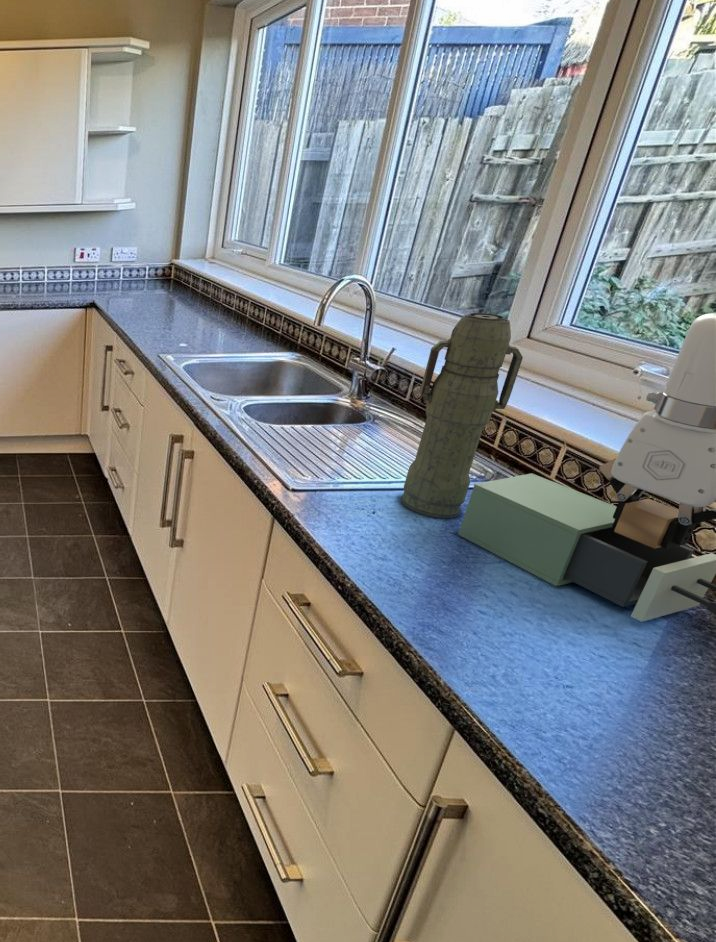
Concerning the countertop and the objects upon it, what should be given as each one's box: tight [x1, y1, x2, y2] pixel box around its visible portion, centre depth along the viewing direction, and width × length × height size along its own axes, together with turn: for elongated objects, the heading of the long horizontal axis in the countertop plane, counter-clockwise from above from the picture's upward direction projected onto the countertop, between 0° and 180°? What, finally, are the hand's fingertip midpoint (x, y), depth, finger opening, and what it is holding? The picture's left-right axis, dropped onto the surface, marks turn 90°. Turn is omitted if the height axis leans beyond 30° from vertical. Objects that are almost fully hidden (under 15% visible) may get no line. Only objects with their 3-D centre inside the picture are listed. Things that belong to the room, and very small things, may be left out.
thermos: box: [400, 312, 524, 519], centre depth 105 cm, size 9×12×35 cm
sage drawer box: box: [457, 472, 617, 587], centre depth 96 cm, size 15×13×10 cm
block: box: [614, 498, 679, 549], centre depth 84 cm, size 4×4×4 cm
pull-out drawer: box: [564, 527, 716, 623], centre depth 85 cm, size 18×11×8 cm, turn 16°
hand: (646, 534), depth 84 cm, fingers closed on block, 4 cm apart
